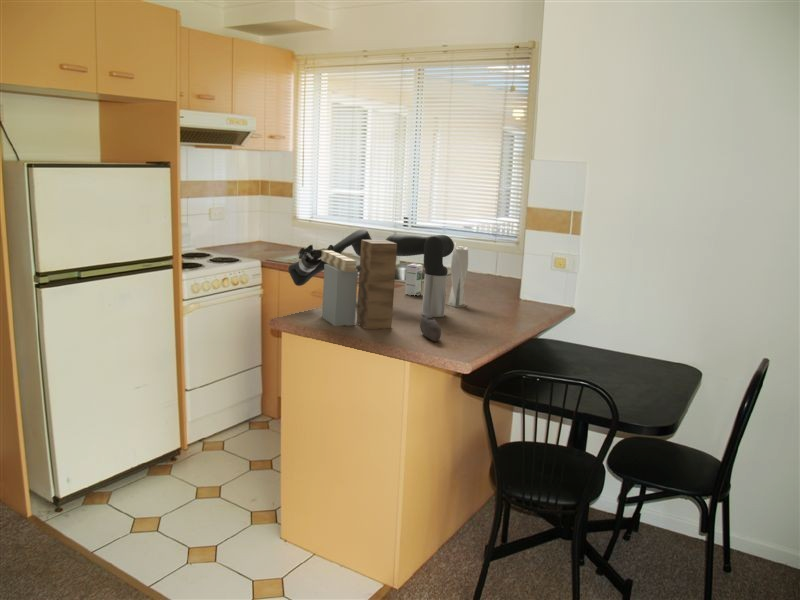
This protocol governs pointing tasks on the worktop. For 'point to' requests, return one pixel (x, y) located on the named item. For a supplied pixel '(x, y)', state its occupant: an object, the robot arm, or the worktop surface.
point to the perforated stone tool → (430, 328)
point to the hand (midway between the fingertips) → (322, 246)
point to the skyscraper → (458, 276)
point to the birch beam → (338, 261)
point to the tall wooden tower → (376, 283)
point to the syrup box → (414, 279)
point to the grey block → (339, 296)
